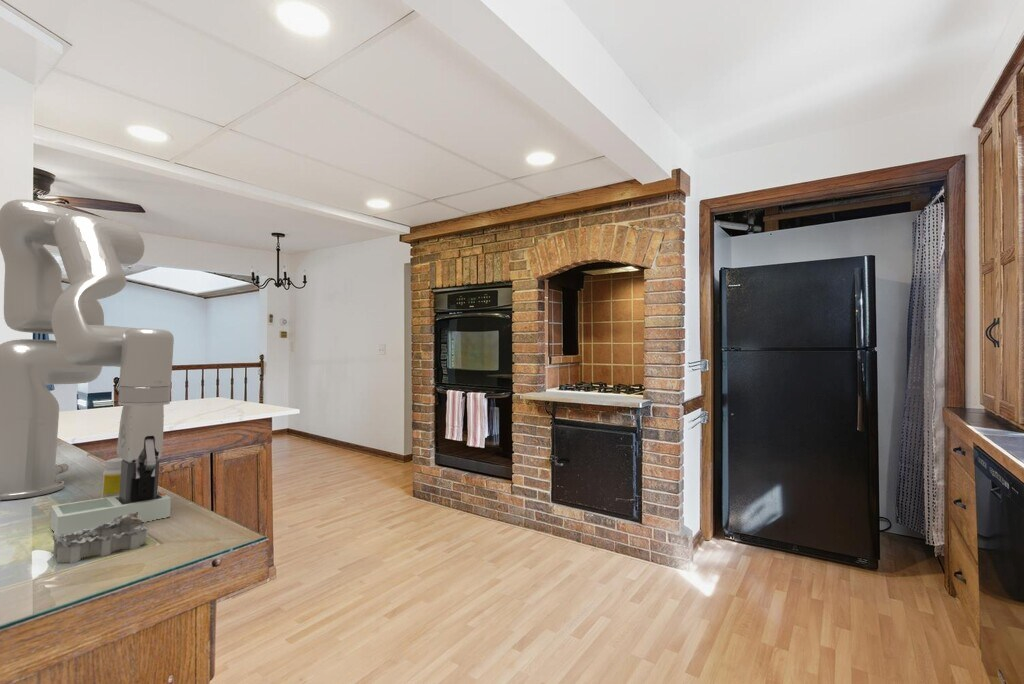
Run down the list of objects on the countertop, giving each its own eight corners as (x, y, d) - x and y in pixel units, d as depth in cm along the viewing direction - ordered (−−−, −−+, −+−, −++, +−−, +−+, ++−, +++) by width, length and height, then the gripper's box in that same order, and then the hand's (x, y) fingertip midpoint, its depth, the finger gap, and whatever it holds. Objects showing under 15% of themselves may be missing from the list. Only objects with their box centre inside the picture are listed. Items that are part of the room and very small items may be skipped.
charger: (124, 510, 83) (127, 463, 84) (118, 504, 86) (121, 458, 86) (156, 504, 87) (159, 459, 87) (149, 499, 90) (152, 455, 90)
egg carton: (140, 535, 79) (141, 510, 79) (149, 548, 74) (151, 521, 74) (50, 552, 71) (52, 524, 71) (53, 568, 66) (56, 538, 66)
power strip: (56, 539, 75) (58, 515, 75) (49, 526, 80) (51, 503, 81) (169, 517, 87) (171, 496, 87) (157, 507, 92) (158, 487, 92)
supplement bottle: (135, 501, 95) (138, 459, 95) (105, 507, 91) (108, 463, 91) (126, 497, 98) (128, 456, 98) (96, 502, 94) (99, 459, 94)
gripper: (108, 393, 90) (101, 490, 89) (130, 401, 79) (122, 512, 78) (157, 391, 95) (150, 483, 95) (183, 399, 85) (176, 503, 84)
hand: (138, 495), depth 87 cm, fingers closed on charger, 4 cm apart
